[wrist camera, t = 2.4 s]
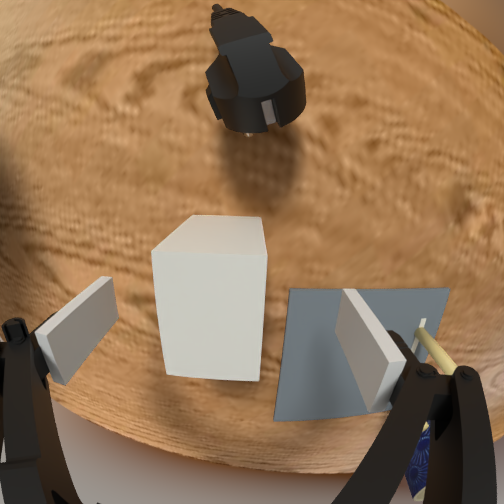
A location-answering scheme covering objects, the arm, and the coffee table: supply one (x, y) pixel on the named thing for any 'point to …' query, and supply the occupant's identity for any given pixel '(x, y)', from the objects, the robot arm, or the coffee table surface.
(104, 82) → the coffee table surface
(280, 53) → the power plug
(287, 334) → the board
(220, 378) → the block
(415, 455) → the planter
